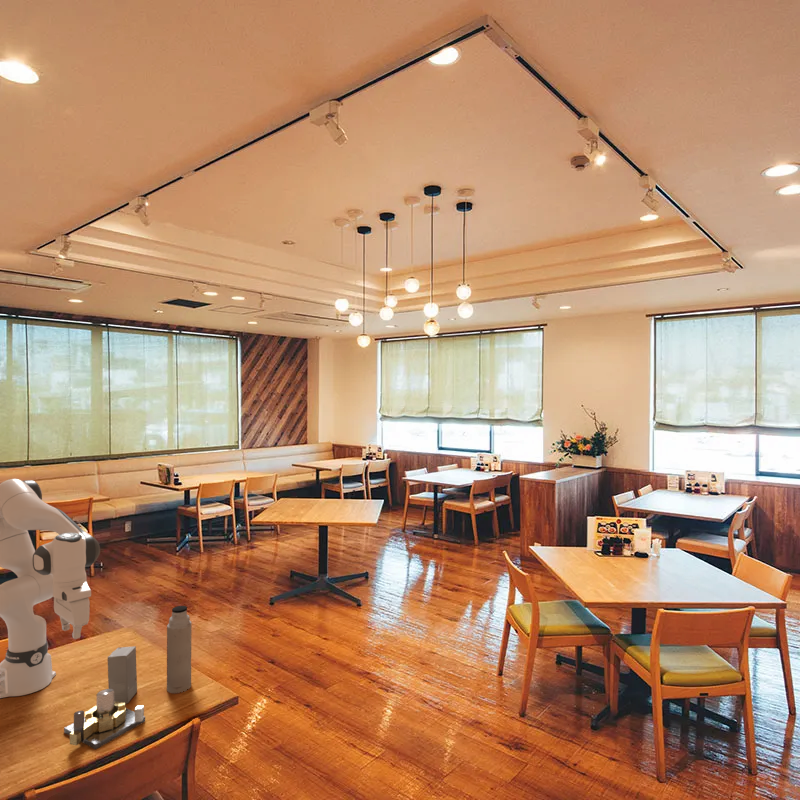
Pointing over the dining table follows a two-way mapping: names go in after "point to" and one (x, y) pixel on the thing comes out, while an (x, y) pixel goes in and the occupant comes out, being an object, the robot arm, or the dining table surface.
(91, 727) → the tan ring with handle
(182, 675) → the thermos bottle
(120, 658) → the skincare box
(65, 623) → the robot arm
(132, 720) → the grey peg base
